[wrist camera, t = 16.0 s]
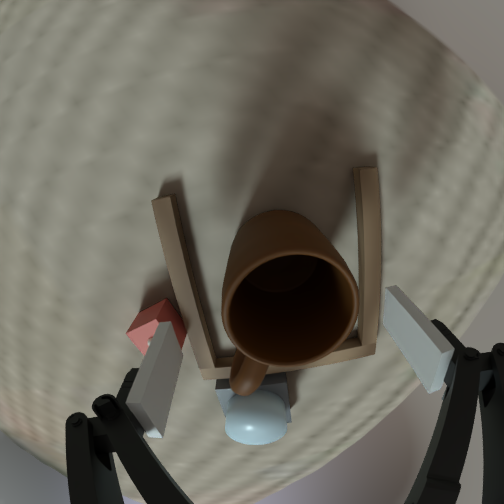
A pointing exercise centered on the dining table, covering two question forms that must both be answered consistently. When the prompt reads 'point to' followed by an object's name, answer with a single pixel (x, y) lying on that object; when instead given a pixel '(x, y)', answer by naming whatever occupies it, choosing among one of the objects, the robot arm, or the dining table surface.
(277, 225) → the mug
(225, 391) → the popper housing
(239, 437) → the dome
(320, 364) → the bay
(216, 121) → the dining table surface
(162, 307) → the die
